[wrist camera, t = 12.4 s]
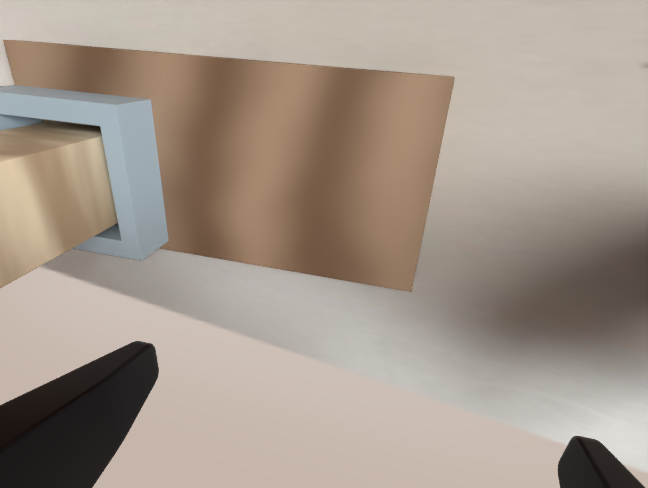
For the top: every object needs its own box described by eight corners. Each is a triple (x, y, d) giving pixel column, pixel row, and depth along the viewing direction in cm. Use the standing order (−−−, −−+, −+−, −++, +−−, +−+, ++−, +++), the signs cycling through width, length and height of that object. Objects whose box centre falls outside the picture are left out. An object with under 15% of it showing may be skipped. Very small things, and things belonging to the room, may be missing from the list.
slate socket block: (150, 99, 19) (116, 104, 17) (168, 240, 23) (141, 260, 20) (16, 85, 20) (-33, 88, 18) (53, 221, 24) (16, 238, 22)
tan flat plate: (452, 76, 17) (454, 77, 16) (411, 282, 21) (411, 291, 21) (20, 40, 20) (2, 39, 19) (67, 224, 25) (54, 230, 24)
